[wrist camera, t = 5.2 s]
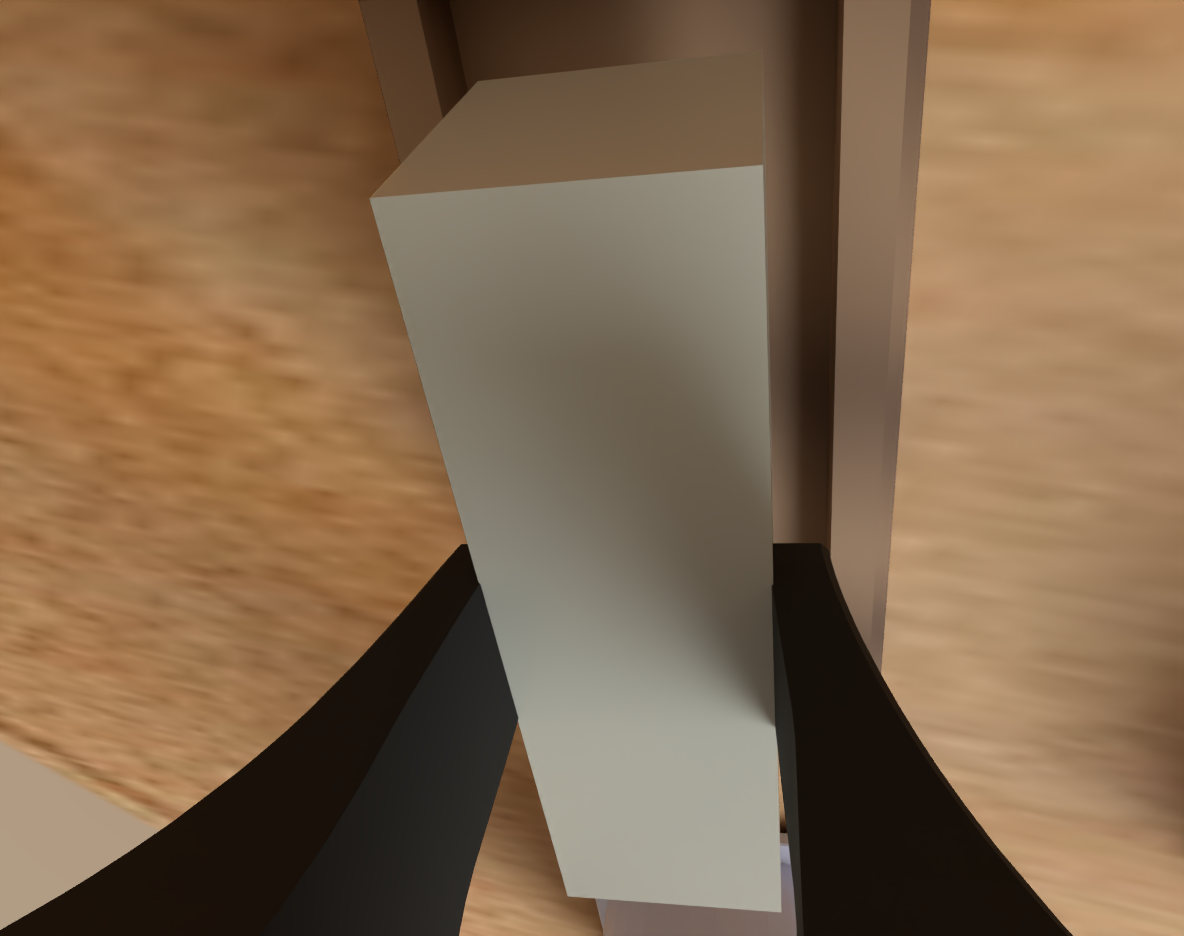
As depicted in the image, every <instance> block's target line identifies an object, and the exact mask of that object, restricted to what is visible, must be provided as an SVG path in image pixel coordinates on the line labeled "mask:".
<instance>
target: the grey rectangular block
mask: <svg viewBox="0 0 1184 936" xmlns="http://www.w3.org/2000/svg"><path fill="white" fill-rule="evenodd" d="M369 199H370V203H371V206H372V210H373V213H374V217H375V220H376V224H377V227H378V231H379V234H380V238H381V241H382V245H383V249H384V252H385V256H386V259H387V263H388V266H389V270H390V273H391V277H392V280H393V284H394V287H395V291H396V294H397V298H398V301H399V305H400V308H401V312H402V315H403V319H404V322H405V326H406V329H407V333H408V336H409V340H410V343H411V347H412V350H413V354H414V357H415V361H416V365H417V368H418V372H419V375H420V379H421V382H422V386H423V389H424V393H425V396H426V400H427V403H428V407H429V410H430V414H431V417H432V421H433V424H434V428H435V431H436V435H437V438H438V442H439V445H440V449H441V452H442V456H443V459H444V463H445V466H446V470H447V473H448V477H449V480H450V484H451V488H452V491H453V495H454V498H455V502H456V505H457V509H458V512H459V516H460V519H461V523H462V526H463V530H464V533H465V537H466V540H467V544H468V547H469V551H470V554H471V558H472V561H473V565H474V568H475V572H476V575H477V579H478V582H479V583H480V584H481V588H482V591H483V595H484V598H485V602H486V605H487V609H488V612H489V616H490V619H491V623H492V626H493V630H494V633H495V637H496V641H497V644H498V648H499V651H500V655H501V658H502V662H503V665H504V669H505V672H506V676H507V679H508V683H509V686H510V690H511V693H512V697H513V700H514V704H515V707H516V711H517V714H518V723H519V727H520V730H521V734H522V737H523V741H524V744H525V748H526V751H527V755H528V758H529V762H530V765H531V769H532V772H533V776H534V779H535V783H536V786H537V790H538V793H539V797H540V800H541V804H542V807H543V811H544V814H545V818H546V821H547V825H548V828H549V832H550V835H551V839H552V843H553V846H554V850H555V853H556V857H557V860H558V864H559V867H560V871H561V874H562V878H563V881H564V885H565V888H566V892H567V895H568V896H569V897H583V898H596V899H609V900H623V901H636V902H649V903H663V904H676V905H689V906H703V907H716V908H729V909H742V910H756V911H769V912H781V859H780V800H779V757H778V748H777V739H776V730H775V700H774V662H773V623H772V585H773V543H774V518H773V475H772V432H771V389H770V346H769V303H768V259H767V216H766V173H765V130H764V87H763V50H760V51H750V52H741V53H732V54H723V55H714V56H704V57H695V58H686V59H677V60H668V61H658V62H649V63H640V64H631V65H622V66H612V67H603V68H594V69H585V70H576V71H567V72H557V73H548V74H539V75H530V76H521V77H511V78H502V79H493V80H484V81H477V83H476V84H475V85H474V86H473V87H472V88H471V89H470V90H469V91H468V92H467V93H466V94H465V95H464V97H463V98H462V99H461V100H460V101H459V102H458V103H457V104H456V105H455V106H454V107H453V108H452V109H451V111H450V112H449V113H448V114H447V115H446V116H445V117H444V118H443V119H442V120H441V121H440V122H439V123H438V125H437V126H436V127H435V128H434V129H433V130H432V131H431V132H430V133H429V134H428V135H427V136H426V137H425V139H424V140H423V141H422V142H421V143H420V144H419V145H418V146H417V147H416V148H415V149H414V150H413V151H412V153H411V154H410V155H409V156H408V157H407V158H406V159H405V160H404V161H403V162H402V163H401V164H400V165H399V167H398V168H397V169H396V170H395V171H394V172H393V173H392V174H391V175H390V176H389V177H388V178H387V179H386V181H385V182H384V183H383V184H382V185H381V186H380V187H379V188H378V189H377V190H376V191H375V192H374V193H373V195H372V196H371V197H370V198H369Z"/></svg>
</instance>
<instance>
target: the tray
mask: <svg viewBox="0 0 1184 936" xmlns="http://www.w3.org/2000/svg"><path fill="white" fill-rule="evenodd" d="M359 4H360V8H361V12H362V16H363V20H364V24H365V28H366V31H367V35H368V39H369V43H370V47H371V51H372V55H373V59H374V63H375V67H376V71H377V74H378V78H379V82H380V86H381V90H382V94H383V98H384V102H385V106H386V110H387V114H388V118H389V121H390V125H391V129H392V133H393V137H394V141H395V145H396V149H397V153H398V157H399V161H400V164H401V163H402V162H403V161H404V160H405V159H406V158H407V157H408V156H409V155H410V154H411V153H412V151H413V150H414V149H415V148H416V147H417V146H418V145H419V144H420V143H421V142H422V141H423V140H424V139H425V137H426V136H427V135H428V134H429V133H430V132H431V131H432V130H433V129H434V128H435V127H436V126H437V125H438V123H439V122H440V121H441V120H442V119H443V118H444V117H445V116H446V115H447V114H448V113H449V112H450V111H451V109H452V108H453V107H454V106H455V105H456V104H457V103H458V102H459V101H460V100H461V99H462V98H463V97H464V95H465V94H466V93H467V92H468V91H469V90H470V89H471V88H472V87H473V86H474V85H475V84H476V83H477V81H484V80H493V79H502V78H511V77H521V76H530V75H539V74H548V73H557V72H567V71H576V70H585V69H594V68H603V67H612V66H622V65H631V64H640V63H649V62H658V61H668V60H677V59H686V58H695V57H704V56H714V55H723V54H732V53H741V52H750V51H760V50H763V87H764V130H765V173H766V216H767V259H768V303H769V346H770V389H771V432H772V475H773V518H774V543H821V544H822V545H823V546H824V547H826V548H827V549H828V550H829V553H830V558H831V561H832V565H833V568H834V571H835V575H836V578H837V580H838V583H839V586H840V589H841V591H842V594H843V596H844V599H845V601H846V603H847V606H848V608H849V610H850V613H851V615H852V617H853V619H854V622H855V624H856V626H857V628H858V630H859V632H860V634H861V637H862V639H863V641H864V643H865V645H866V646H867V648H868V650H869V652H870V654H871V656H872V658H873V660H874V662H875V664H876V665H877V667H878V669H879V671H880V673H881V666H882V652H883V639H884V625H885V612H886V598H887V585H888V572H889V558H890V545H891V531H892V518H893V504H894V491H895V477H896V464H897V451H898V437H899V424H900V410H901V397H902V383H903V370H904V357H905V343H906V330H907V316H908V303H909V289H910V276H911V262H912V249H913V236H914V222H915V209H916V195H917V182H918V168H919V155H920V141H921V128H922V115H923V101H924V88H925V74H926V61H927V47H928V34H929V21H930V7H931V0H359Z"/></svg>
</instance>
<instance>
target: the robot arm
mask: <svg viewBox="0 0 1184 936" xmlns="http://www.w3.org/2000/svg"><path fill="white" fill-rule="evenodd" d="M772 623H773V662H774V700H775V730H776V739H777V748H778V757H779V766H780V774H781V783H782V792H783V801H784V809H785V818H786V827H787V833H780V859H781V912H769V911H756V910H742V909H729V908H716V907H703V906H689V905H676V904H663V903H649V902H636V901H623V900H609V899H596V898H595V900H596V904H597V908H598V912H599V916H600V920H601V924H602V928H603V936H1073V935H1072V934H1071V933H1070V932H1069V931H1068V930H1067V929H1066V928H1065V927H1064V925H1063V924H1062V923H1061V922H1060V921H1059V920H1058V919H1057V917H1056V916H1055V915H1054V914H1053V913H1052V911H1051V910H1050V909H1049V908H1048V907H1047V906H1046V904H1045V903H1044V902H1043V901H1042V900H1041V898H1040V897H1039V896H1038V895H1037V894H1036V893H1035V891H1034V890H1033V889H1032V888H1031V887H1030V885H1029V884H1028V883H1027V882H1026V881H1025V880H1024V878H1023V877H1022V876H1021V875H1020V874H1019V872H1018V871H1017V870H1016V869H1015V868H1014V867H1013V865H1012V864H1011V863H1010V862H1009V861H1008V859H1007V858H1006V857H1005V856H1004V855H1003V854H1002V852H1001V851H1000V850H999V849H998V848H997V846H996V845H995V844H994V842H993V841H992V840H991V839H990V837H989V836H988V835H987V833H986V832H985V831H984V829H983V828H982V827H981V825H980V824H979V823H978V822H977V820H976V819H975V818H974V816H973V815H972V814H971V812H970V811H969V810H968V808H967V807H966V806H965V804H964V803H963V802H962V800H961V799H960V797H959V796H958V795H957V793H956V792H955V790H954V789H953V788H952V786H951V785H950V783H949V782H948V781H947V779H946V778H945V776H944V775H943V774H942V772H941V771H940V769H939V768H938V766H937V765H936V763H935V762H934V760H933V759H932V757H931V756H930V754H929V753H928V751H927V750H926V748H925V747H924V745H923V744H922V742H921V741H920V739H919V738H918V736H917V734H916V733H915V731H914V730H913V728H912V726H911V725H910V723H909V721H908V720H907V718H906V716H905V715H904V713H903V712H902V710H901V708H900V707H899V705H898V703H897V702H896V700H895V698H894V696H893V695H892V693H891V691H890V689H889V688H888V686H887V684H886V682H885V681H884V679H883V677H882V675H881V673H880V671H879V669H878V667H877V665H876V664H875V662H874V660H873V658H872V656H871V654H870V652H869V650H868V648H867V646H866V645H865V643H864V641H863V639H862V637H861V634H860V632H859V630H858V628H857V626H856V624H855V622H854V619H853V617H852V615H851V613H850V610H849V608H848V606H847V603H846V601H845V599H844V596H843V594H842V591H841V589H840V586H839V583H838V580H837V578H836V575H835V571H834V568H833V565H832V561H831V558H830V553H829V550H828V549H827V548H826V547H824V546H823V545H822V544H821V543H773V585H772ZM517 722H518V714H517V711H516V707H515V704H514V700H513V697H512V693H511V690H510V686H509V683H508V679H507V676H506V672H505V669H504V665H503V662H502V658H501V655H500V651H499V648H498V644H497V641H496V637H495V633H494V630H493V626H492V623H491V619H490V616H489V612H488V609H487V605H486V602H485V598H484V595H483V591H482V588H481V584H480V583H479V582H478V579H477V575H476V572H475V568H474V565H473V561H472V558H471V554H470V551H469V547H468V544H461V545H460V546H459V547H458V548H457V549H456V550H455V552H454V553H453V554H452V555H451V556H450V557H449V558H448V559H447V561H446V562H445V563H444V564H443V565H442V566H441V567H440V569H439V570H438V571H437V572H436V573H435V574H434V576H433V577H432V578H431V579H430V580H429V581H428V583H427V584H426V585H425V586H424V587H423V588H422V590H421V591H420V592H419V593H418V594H417V595H416V597H415V598H414V599H413V600H412V601H411V602H410V603H409V605H408V606H407V607H406V608H405V609H404V610H403V611H402V613H401V614H400V615H399V616H398V617H397V618H396V619H395V621H394V622H393V623H392V624H391V625H390V626H389V627H388V628H387V629H386V630H385V632H384V633H383V634H382V635H381V636H380V637H379V638H378V639H377V640H376V641H375V643H374V644H373V645H372V646H371V647H370V648H369V649H368V650H367V651H366V652H365V654H364V655H363V656H362V657H361V658H360V659H359V660H358V661H357V662H356V663H355V664H354V665H353V666H352V667H351V668H350V669H349V670H348V671H347V672H346V673H345V674H344V675H343V676H342V677H341V678H340V679H339V680H338V681H337V682H336V683H335V684H334V685H333V686H332V687H331V688H330V689H329V690H328V691H327V692H326V693H325V694H324V695H323V696H322V697H321V698H320V699H319V700H318V702H317V703H316V704H315V705H314V706H313V707H311V708H310V709H309V710H308V711H307V712H306V713H305V714H304V715H303V716H302V717H301V718H300V719H299V720H298V721H297V722H296V723H294V724H293V725H292V726H291V727H290V728H289V729H288V730H287V731H286V732H285V733H284V734H282V735H281V736H280V737H279V738H278V739H277V740H276V741H274V742H273V743H272V744H271V745H270V746H268V747H267V748H266V749H265V750H264V751H263V752H261V753H260V754H259V755H258V756H257V757H256V758H254V759H253V760H252V761H251V762H250V763H249V764H247V765H246V766H245V767H244V768H242V769H241V770H240V771H239V772H237V773H236V774H235V775H234V776H232V777H231V778H230V779H228V780H227V781H226V782H224V783H223V784H222V785H220V786H219V787H218V788H217V789H215V790H214V791H213V792H211V793H210V794H209V795H207V796H206V797H205V798H203V799H202V800H201V801H199V802H198V803H197V804H195V805H194V806H193V807H191V808H190V809H189V810H187V811H186V812H185V813H184V814H182V815H181V816H180V817H178V818H177V819H176V820H174V821H173V822H172V823H170V824H169V825H167V826H166V827H164V828H163V829H162V830H160V831H159V832H157V833H156V834H154V835H153V836H152V837H150V838H149V839H147V840H146V841H144V842H143V843H141V844H140V845H138V846H137V847H136V848H134V849H133V850H131V851H130V852H128V853H127V854H125V855H123V856H122V857H121V858H119V859H117V860H116V861H114V862H113V863H111V864H110V865H108V866H107V867H105V868H103V869H102V870H100V871H99V872H97V873H96V874H94V875H93V876H91V877H89V878H88V879H86V880H85V881H83V882H82V883H80V884H78V885H76V886H75V887H73V888H72V889H70V890H68V891H67V892H65V893H64V894H62V895H60V896H58V897H57V898H55V899H53V900H51V901H50V902H48V903H46V904H45V905H43V906H41V907H39V908H38V909H36V910H34V911H32V912H31V913H29V914H27V915H26V916H24V917H22V918H21V919H19V920H17V921H15V922H13V923H12V924H10V925H8V926H7V927H5V928H3V929H2V930H0V936H459V932H460V927H461V922H462V917H463V912H464V906H465V902H466V898H467V894H468V890H469V886H470V882H471V878H472V874H473V870H474V866H475V863H476V860H477V856H478V853H479V850H480V846H481V843H482V840H483V837H484V833H485V830H486V827H487V823H488V820H489V817H490V813H491V810H492V807H493V803H494V800H495V797H496V793H497V790H498V787H499V783H500V780H501V777H502V773H503V770H504V767H505V763H506V760H507V756H508V753H509V750H510V746H511V743H512V739H513V736H514V732H515V729H516V725H517Z"/></svg>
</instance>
